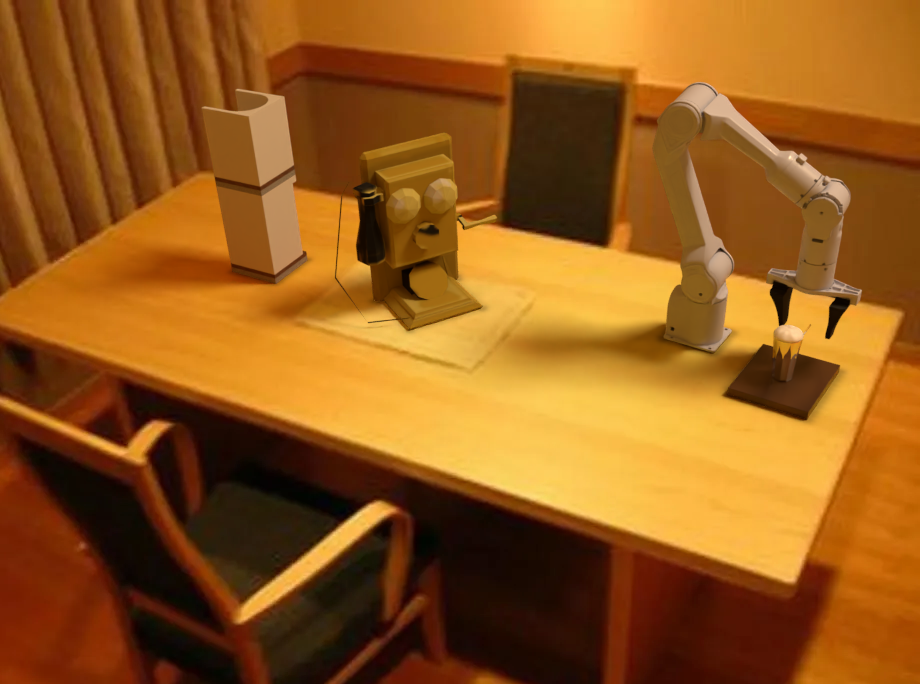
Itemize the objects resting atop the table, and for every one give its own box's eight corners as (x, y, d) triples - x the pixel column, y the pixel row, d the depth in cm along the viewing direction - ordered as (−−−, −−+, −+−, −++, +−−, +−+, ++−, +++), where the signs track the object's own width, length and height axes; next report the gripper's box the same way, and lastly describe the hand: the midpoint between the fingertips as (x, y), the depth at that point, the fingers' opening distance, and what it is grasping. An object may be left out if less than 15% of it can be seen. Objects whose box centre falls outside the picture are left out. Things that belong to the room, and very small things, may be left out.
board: (727, 395, 174) (727, 387, 174) (762, 350, 184) (763, 343, 183) (807, 419, 168) (808, 412, 167) (839, 372, 177) (840, 364, 176)
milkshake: (803, 385, 173) (812, 332, 167) (768, 383, 174) (776, 331, 168) (800, 369, 176) (809, 317, 171) (766, 367, 177) (774, 315, 172)
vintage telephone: (362, 345, 195) (345, 193, 177) (334, 310, 205) (316, 164, 188) (514, 299, 204) (512, 150, 187) (480, 268, 215) (475, 124, 197)
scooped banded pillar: (307, 260, 223) (284, 96, 203) (276, 283, 216) (248, 116, 195) (264, 249, 228) (237, 88, 208) (232, 271, 221) (201, 107, 201)
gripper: (873, 256, 168) (858, 330, 176) (782, 236, 176) (771, 307, 184) (858, 276, 164) (844, 350, 172) (765, 254, 171) (755, 326, 179)
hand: (805, 329), depth 177 cm, fingers open, 7 cm apart
